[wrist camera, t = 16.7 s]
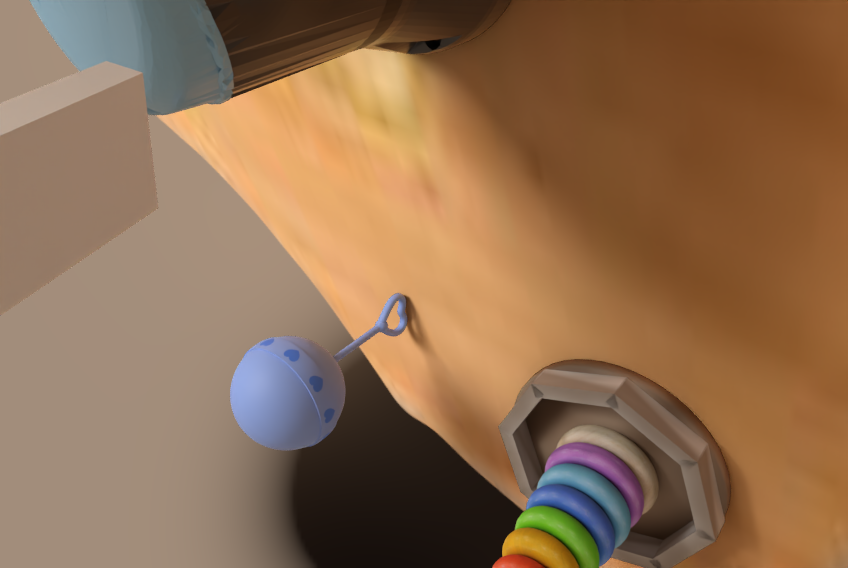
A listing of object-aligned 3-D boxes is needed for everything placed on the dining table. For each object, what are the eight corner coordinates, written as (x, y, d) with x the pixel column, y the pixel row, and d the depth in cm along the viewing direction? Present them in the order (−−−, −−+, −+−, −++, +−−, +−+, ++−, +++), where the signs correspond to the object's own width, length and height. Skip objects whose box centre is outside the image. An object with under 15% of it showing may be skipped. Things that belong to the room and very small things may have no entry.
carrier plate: (490, 430, 61) (471, 451, 59) (577, 317, 49) (556, 339, 47) (647, 571, 57) (632, 598, 55) (785, 485, 44) (772, 517, 42)
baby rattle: (362, 248, 60) (192, 357, 49) (441, 275, 55) (274, 403, 44) (373, 327, 65) (220, 444, 53) (447, 359, 60) (297, 494, 48)
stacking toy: (639, 522, 53) (511, 737, 41) (551, 460, 56) (408, 643, 44) (680, 466, 48) (547, 693, 36) (581, 401, 51) (428, 590, 39)
